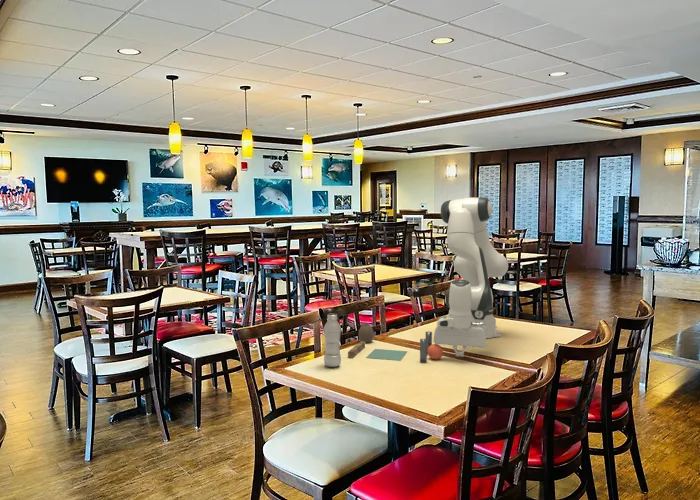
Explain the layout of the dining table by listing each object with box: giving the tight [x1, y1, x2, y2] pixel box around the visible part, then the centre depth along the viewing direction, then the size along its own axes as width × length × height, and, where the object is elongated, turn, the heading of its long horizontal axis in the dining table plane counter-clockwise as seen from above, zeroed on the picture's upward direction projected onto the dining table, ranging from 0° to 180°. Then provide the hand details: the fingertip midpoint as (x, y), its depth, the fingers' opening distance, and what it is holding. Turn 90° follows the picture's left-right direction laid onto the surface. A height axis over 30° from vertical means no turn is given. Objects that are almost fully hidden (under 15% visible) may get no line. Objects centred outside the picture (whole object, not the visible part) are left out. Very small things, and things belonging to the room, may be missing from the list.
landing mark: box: [365, 348, 408, 362], centre depth 214 cm, size 14×14×1 cm
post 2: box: [425, 331, 433, 355], centre depth 215 cm, size 3×3×9 cm
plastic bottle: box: [323, 313, 342, 368], centre depth 197 cm, size 6×7×20 cm
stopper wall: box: [347, 340, 366, 359], centre depth 217 cm, size 18×2×2 cm, turn 163°
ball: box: [427, 343, 444, 360], centre depth 207 cm, size 6×6×6 cm
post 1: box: [419, 338, 428, 364], centre depth 202 cm, size 3×3×9 cm
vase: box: [358, 322, 375, 344], centre depth 235 cm, size 7×7×9 cm
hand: (459, 356), depth 205 cm, fingers closed
